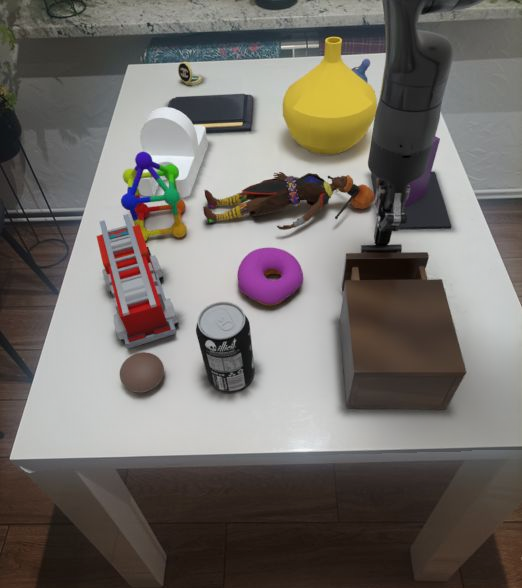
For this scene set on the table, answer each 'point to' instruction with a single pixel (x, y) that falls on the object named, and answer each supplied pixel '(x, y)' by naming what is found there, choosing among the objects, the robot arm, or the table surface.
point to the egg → (141, 372)
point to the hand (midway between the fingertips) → (381, 241)
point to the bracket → (173, 148)
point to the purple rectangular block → (422, 178)
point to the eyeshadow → (188, 74)
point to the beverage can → (226, 345)
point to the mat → (425, 208)
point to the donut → (268, 263)
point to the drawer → (384, 264)
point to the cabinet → (399, 345)
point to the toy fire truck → (135, 286)
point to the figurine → (289, 197)
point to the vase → (329, 105)
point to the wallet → (217, 111)
